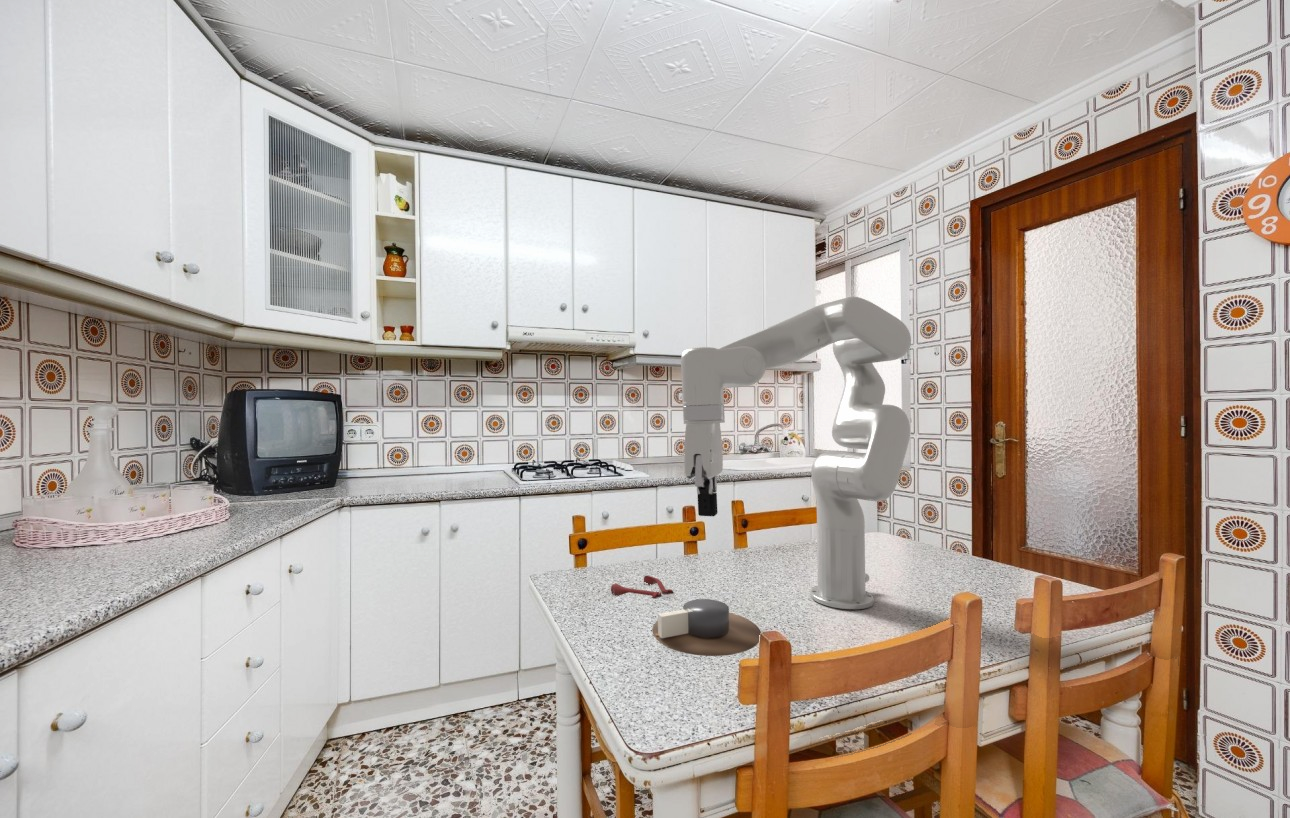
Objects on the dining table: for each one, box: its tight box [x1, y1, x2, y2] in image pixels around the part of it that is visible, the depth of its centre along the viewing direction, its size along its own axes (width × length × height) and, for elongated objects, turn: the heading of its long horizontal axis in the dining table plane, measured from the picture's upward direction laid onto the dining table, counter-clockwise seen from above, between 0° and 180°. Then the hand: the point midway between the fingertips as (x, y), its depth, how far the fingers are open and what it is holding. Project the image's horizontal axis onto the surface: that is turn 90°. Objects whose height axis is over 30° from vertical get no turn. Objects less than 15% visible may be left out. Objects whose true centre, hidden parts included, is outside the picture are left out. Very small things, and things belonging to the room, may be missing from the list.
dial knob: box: [657, 598, 730, 638], centre depth 87 cm, size 13×8×4 cm, turn 113°
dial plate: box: [651, 612, 762, 657], centre depth 88 cm, size 19×19×2 cm
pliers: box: [610, 575, 680, 603], centre depth 107 cm, size 12×20×3 cm, turn 38°
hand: (708, 514), depth 91 cm, fingers closed
